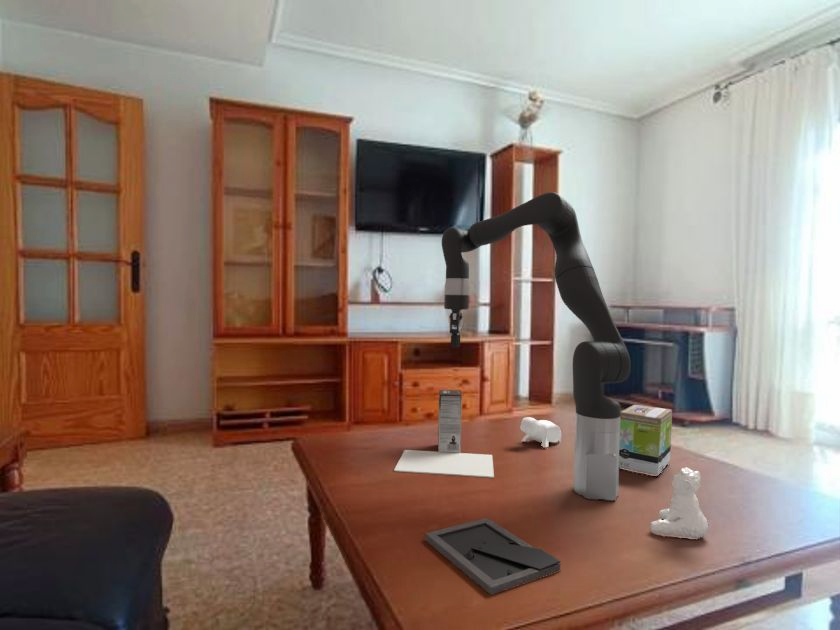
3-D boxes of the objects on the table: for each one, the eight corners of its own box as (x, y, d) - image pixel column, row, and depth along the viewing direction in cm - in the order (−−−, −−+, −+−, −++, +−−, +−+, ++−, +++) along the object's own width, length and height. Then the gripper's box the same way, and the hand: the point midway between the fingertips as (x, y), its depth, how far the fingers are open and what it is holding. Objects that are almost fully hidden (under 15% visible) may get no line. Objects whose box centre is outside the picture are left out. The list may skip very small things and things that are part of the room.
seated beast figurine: (661, 516, 93) (662, 455, 93) (712, 530, 87) (714, 465, 87) (648, 533, 86) (650, 467, 85) (703, 550, 80) (705, 479, 80)
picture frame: (560, 574, 73) (486, 526, 88) (560, 561, 73) (487, 515, 88) (491, 598, 66) (425, 542, 82) (491, 584, 66) (425, 530, 82)
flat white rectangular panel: (493, 477, 113) (493, 476, 113) (393, 471, 116) (393, 470, 116) (492, 456, 129) (492, 454, 129) (404, 450, 132) (404, 449, 132)
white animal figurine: (537, 448, 149) (508, 437, 140) (544, 421, 150) (516, 409, 141) (561, 455, 142) (532, 444, 133) (568, 427, 144) (540, 414, 135)
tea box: (659, 478, 114) (661, 417, 114) (616, 469, 121) (617, 411, 120) (671, 463, 126) (672, 408, 126) (630, 455, 133) (632, 402, 132)
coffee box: (437, 444, 140) (438, 389, 140) (459, 444, 139) (460, 389, 140) (438, 452, 130) (439, 393, 131) (461, 453, 130) (462, 394, 131)
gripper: (467, 293, 138) (466, 349, 138) (470, 294, 152) (468, 345, 152) (442, 292, 139) (440, 348, 139) (446, 294, 153) (445, 344, 154)
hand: (455, 346), depth 146 cm, fingers open, 8 cm apart
